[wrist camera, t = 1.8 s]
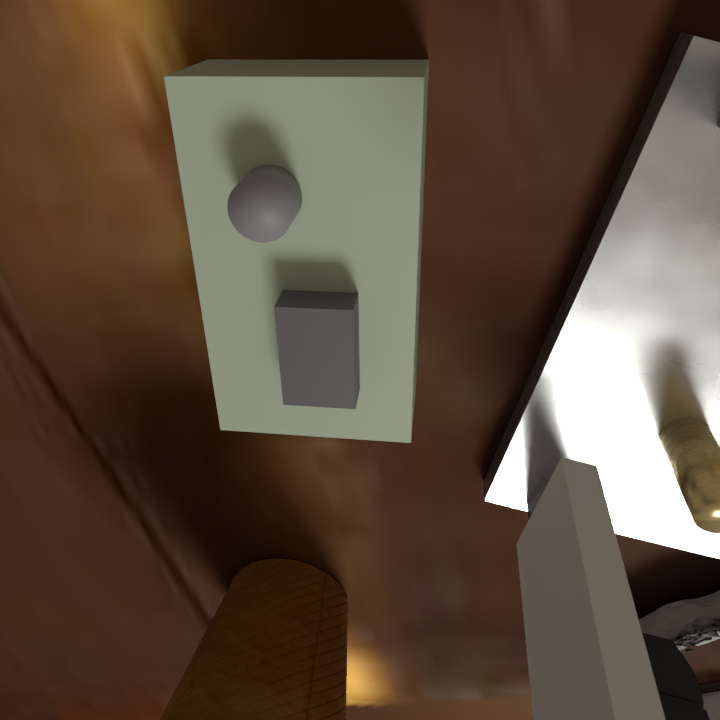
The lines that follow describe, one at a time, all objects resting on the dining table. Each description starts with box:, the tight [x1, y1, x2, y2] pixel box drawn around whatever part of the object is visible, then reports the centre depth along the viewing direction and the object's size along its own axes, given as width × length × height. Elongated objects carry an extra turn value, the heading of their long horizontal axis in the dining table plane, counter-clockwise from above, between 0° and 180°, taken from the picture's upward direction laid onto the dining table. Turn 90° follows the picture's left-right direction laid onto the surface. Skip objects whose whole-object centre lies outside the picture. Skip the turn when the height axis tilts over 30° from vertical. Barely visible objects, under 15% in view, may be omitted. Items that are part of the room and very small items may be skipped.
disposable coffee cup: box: [160, 558, 348, 720], centre depth 29 cm, size 10×10×12 cm
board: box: [164, 59, 429, 443], centre depth 21 cm, size 7×12×5 cm, turn 1°
